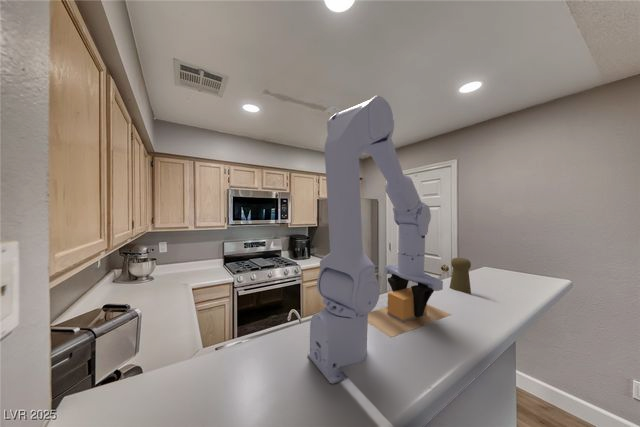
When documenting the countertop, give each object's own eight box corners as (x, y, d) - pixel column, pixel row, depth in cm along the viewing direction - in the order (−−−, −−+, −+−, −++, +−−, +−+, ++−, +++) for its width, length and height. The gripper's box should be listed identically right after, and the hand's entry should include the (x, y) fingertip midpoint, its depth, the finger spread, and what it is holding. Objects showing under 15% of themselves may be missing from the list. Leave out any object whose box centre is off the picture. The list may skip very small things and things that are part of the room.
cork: (475, 297, 68) (476, 261, 68) (452, 296, 70) (453, 259, 69) (466, 290, 74) (467, 256, 74) (446, 289, 76) (447, 255, 75)
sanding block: (403, 322, 50) (403, 299, 50) (387, 314, 54) (387, 292, 53) (426, 314, 54) (427, 293, 54) (410, 307, 58) (410, 287, 57)
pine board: (390, 345, 44) (391, 337, 44) (357, 321, 53) (357, 315, 53) (451, 320, 54) (451, 314, 54) (414, 304, 63) (415, 299, 63)
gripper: (452, 258, 49) (449, 320, 50) (398, 247, 62) (396, 297, 62) (431, 261, 46) (429, 328, 46) (379, 249, 58) (377, 302, 59)
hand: (409, 311), depth 54 cm, fingers closed on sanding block, 4 cm apart
